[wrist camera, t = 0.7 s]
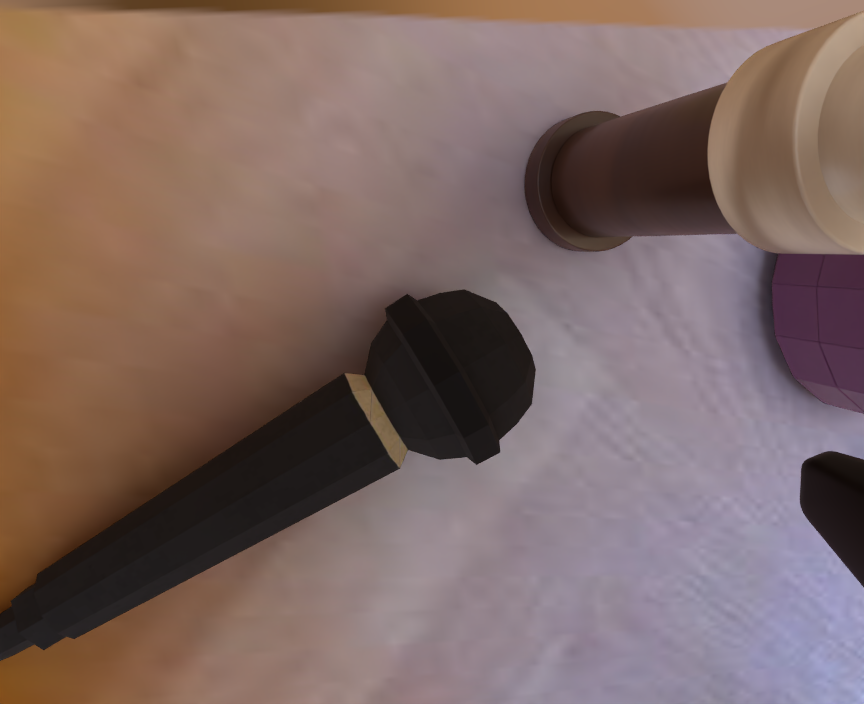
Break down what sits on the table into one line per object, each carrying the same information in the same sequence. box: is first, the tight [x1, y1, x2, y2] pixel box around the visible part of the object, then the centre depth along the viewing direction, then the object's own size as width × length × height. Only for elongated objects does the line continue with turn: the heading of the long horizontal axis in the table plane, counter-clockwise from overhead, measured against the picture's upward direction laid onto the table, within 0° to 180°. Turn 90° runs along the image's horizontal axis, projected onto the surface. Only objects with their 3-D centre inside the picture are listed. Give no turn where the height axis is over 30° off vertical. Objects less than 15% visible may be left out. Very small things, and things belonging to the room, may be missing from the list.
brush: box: [525, 11, 864, 255], centre depth 18 cm, size 5×5×13 cm
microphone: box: [0, 290, 536, 661], centre depth 20 cm, size 6×6×20 cm
